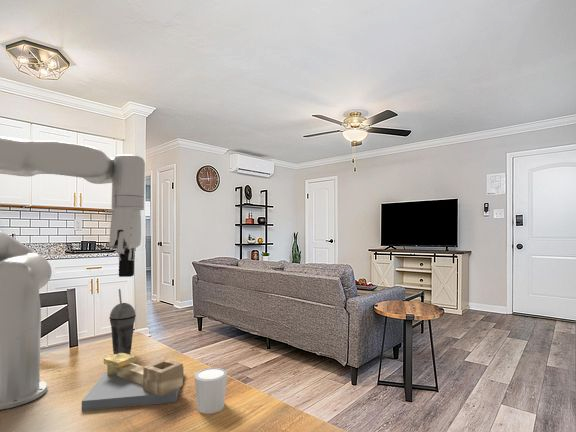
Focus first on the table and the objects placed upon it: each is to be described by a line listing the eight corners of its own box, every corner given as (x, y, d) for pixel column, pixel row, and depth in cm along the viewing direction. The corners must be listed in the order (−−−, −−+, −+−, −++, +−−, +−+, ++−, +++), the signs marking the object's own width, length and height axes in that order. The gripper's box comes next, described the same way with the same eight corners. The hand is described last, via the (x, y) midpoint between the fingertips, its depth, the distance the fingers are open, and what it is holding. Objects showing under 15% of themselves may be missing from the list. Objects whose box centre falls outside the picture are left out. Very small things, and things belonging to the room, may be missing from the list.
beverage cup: (140, 354, 106) (141, 287, 106) (117, 361, 100) (118, 291, 100) (126, 349, 110) (127, 285, 110) (103, 356, 104) (104, 289, 104)
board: (81, 410, 73) (81, 401, 73) (104, 380, 88) (105, 372, 88) (176, 401, 76) (176, 392, 77) (183, 374, 91) (183, 366, 91)
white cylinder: (219, 417, 70) (219, 381, 71) (188, 413, 72) (188, 378, 72) (231, 400, 77) (231, 368, 77) (202, 397, 78) (203, 366, 79)
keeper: (99, 384, 85) (100, 357, 86) (117, 376, 89) (118, 351, 90) (117, 390, 82) (118, 362, 82) (135, 382, 86) (135, 356, 86)
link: (111, 378, 84) (111, 357, 84) (133, 369, 89) (133, 349, 89) (161, 396, 75) (161, 372, 75) (182, 385, 80) (182, 363, 80)
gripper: (122, 205, 96) (121, 272, 95) (100, 201, 81) (98, 280, 80) (151, 206, 97) (149, 272, 96) (134, 201, 82) (132, 280, 81)
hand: (126, 276), depth 88 cm, fingers closed
